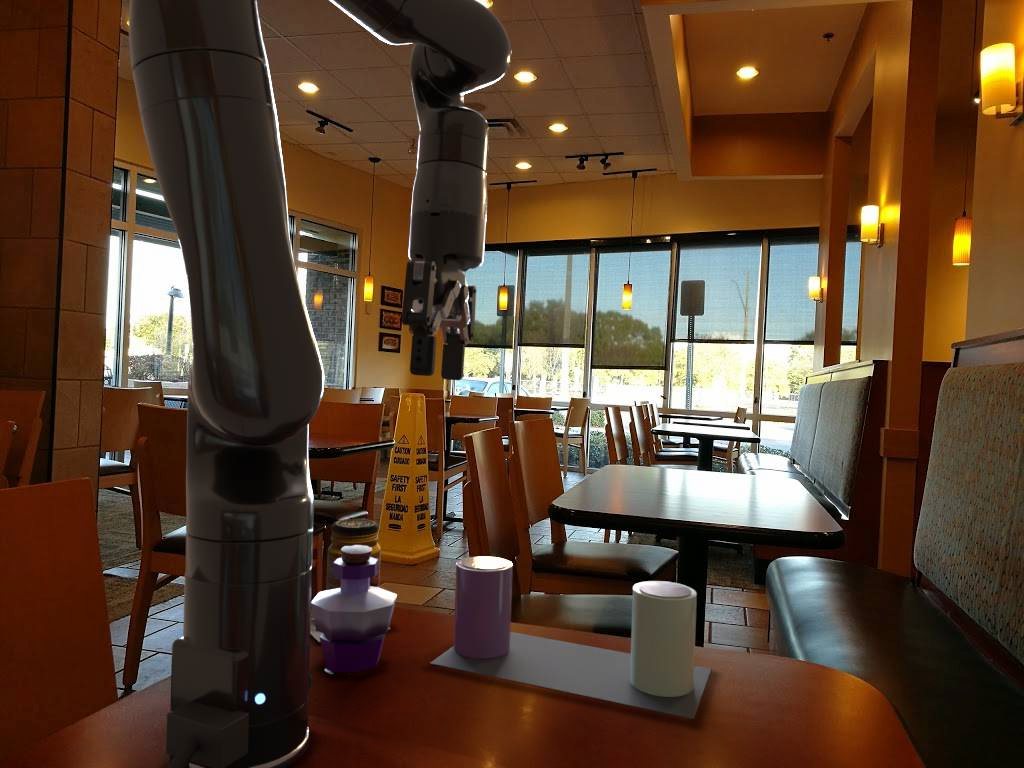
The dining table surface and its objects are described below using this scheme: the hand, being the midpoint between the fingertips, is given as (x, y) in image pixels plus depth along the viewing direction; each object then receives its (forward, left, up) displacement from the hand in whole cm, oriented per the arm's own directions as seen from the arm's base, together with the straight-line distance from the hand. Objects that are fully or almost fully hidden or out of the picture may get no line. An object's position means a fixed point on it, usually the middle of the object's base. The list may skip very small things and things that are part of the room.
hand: (437, 377), depth 73 cm
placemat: (+6, -13, -29) cm, 32 cm away
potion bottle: (-3, +7, -29) cm, 30 cm away
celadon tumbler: (+6, -22, -29) cm, 37 cm away
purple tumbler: (+6, -3, -29) cm, 29 cm away
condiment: (+6, +14, -29) cm, 33 cm away
